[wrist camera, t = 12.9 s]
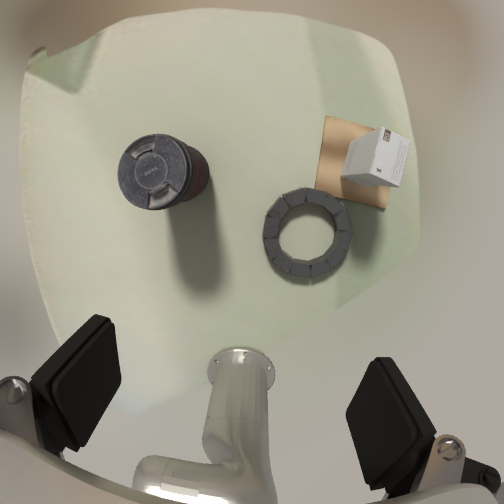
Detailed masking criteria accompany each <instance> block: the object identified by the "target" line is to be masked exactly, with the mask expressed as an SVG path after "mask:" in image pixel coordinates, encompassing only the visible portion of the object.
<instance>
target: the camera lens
mask: <svg viewBox="0 0 504 504" xmlns="http://www.w3.org/2000/svg"><path fill="white" fill-rule="evenodd" d="M208 179H209V166H208V163H207V161H206V159H205V158H204V157H203V155H202V154H201V153H200V152H199V151H198V150H196V149H195V148H193V147H190V146H188V145H186V144H185V143H184V142H182V141H180V140H178V139H176V138H174V137H172V136H169V135H165V134H152V135H147V136H144V137H141V138H139V139H137V140H136V141H134V142H133V143H132V144H131V145H129V147H128V148H127V149H126V150H125V152H124V153H123V155H122V157H121V159H120V162H119V166H118V182H119V186H120V189H121V191H122V193H123V195H124V196H125V198H126V199H127V200H128V201H129V202H130V203H132V204H133V205H135V206H137V207H140V208H143V209H148V210H162V209H165V208H169V207H172V206H175V205H177V204H179V203H181V202H185V201H188V200H191V199H193V198H194V197H196V196H197V195H198V194H200V193H201V192H202V191H203V189H204V188H205V186H206V185H207V182H208Z"/></svg>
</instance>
